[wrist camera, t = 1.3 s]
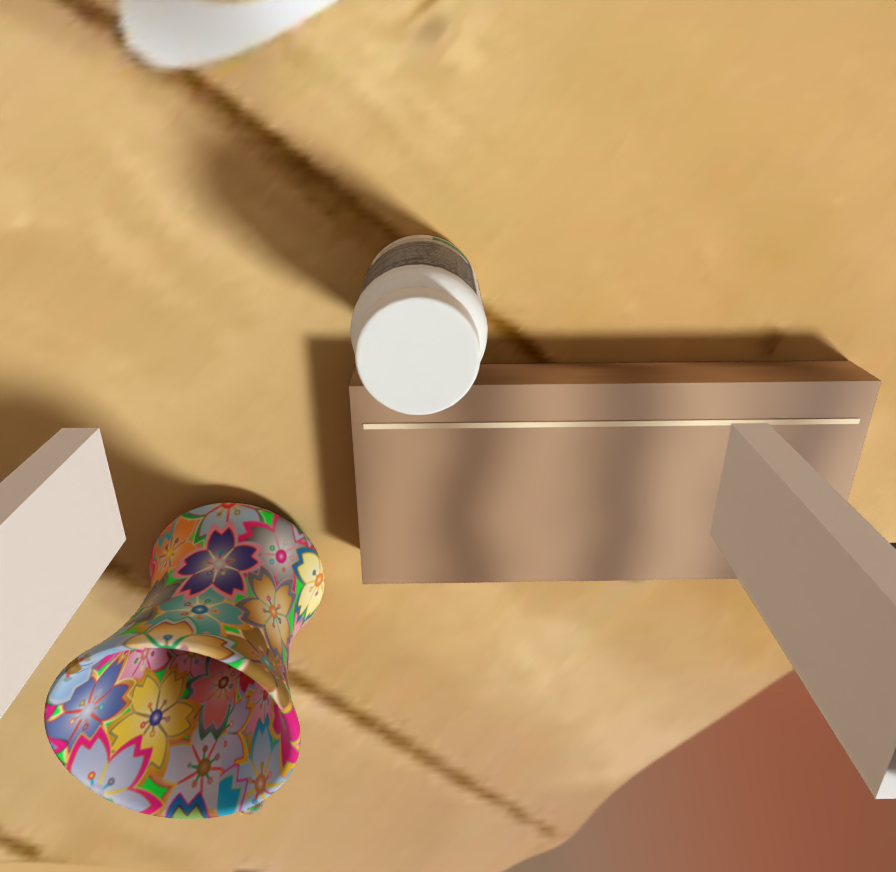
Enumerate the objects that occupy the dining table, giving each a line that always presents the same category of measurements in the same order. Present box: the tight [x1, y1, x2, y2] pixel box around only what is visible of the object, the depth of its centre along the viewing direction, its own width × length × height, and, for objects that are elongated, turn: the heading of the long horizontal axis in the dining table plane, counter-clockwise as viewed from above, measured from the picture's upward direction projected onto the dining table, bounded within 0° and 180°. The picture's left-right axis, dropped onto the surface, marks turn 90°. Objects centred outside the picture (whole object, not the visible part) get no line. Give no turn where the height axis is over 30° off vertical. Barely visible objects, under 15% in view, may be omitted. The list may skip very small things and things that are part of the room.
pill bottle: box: [351, 235, 488, 415], centre depth 26 cm, size 5×5×8 cm
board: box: [349, 361, 881, 584], centre depth 32 cm, size 22×10×3 cm, turn 90°
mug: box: [44, 503, 324, 819], centre depth 31 cm, size 12×9×11 cm
